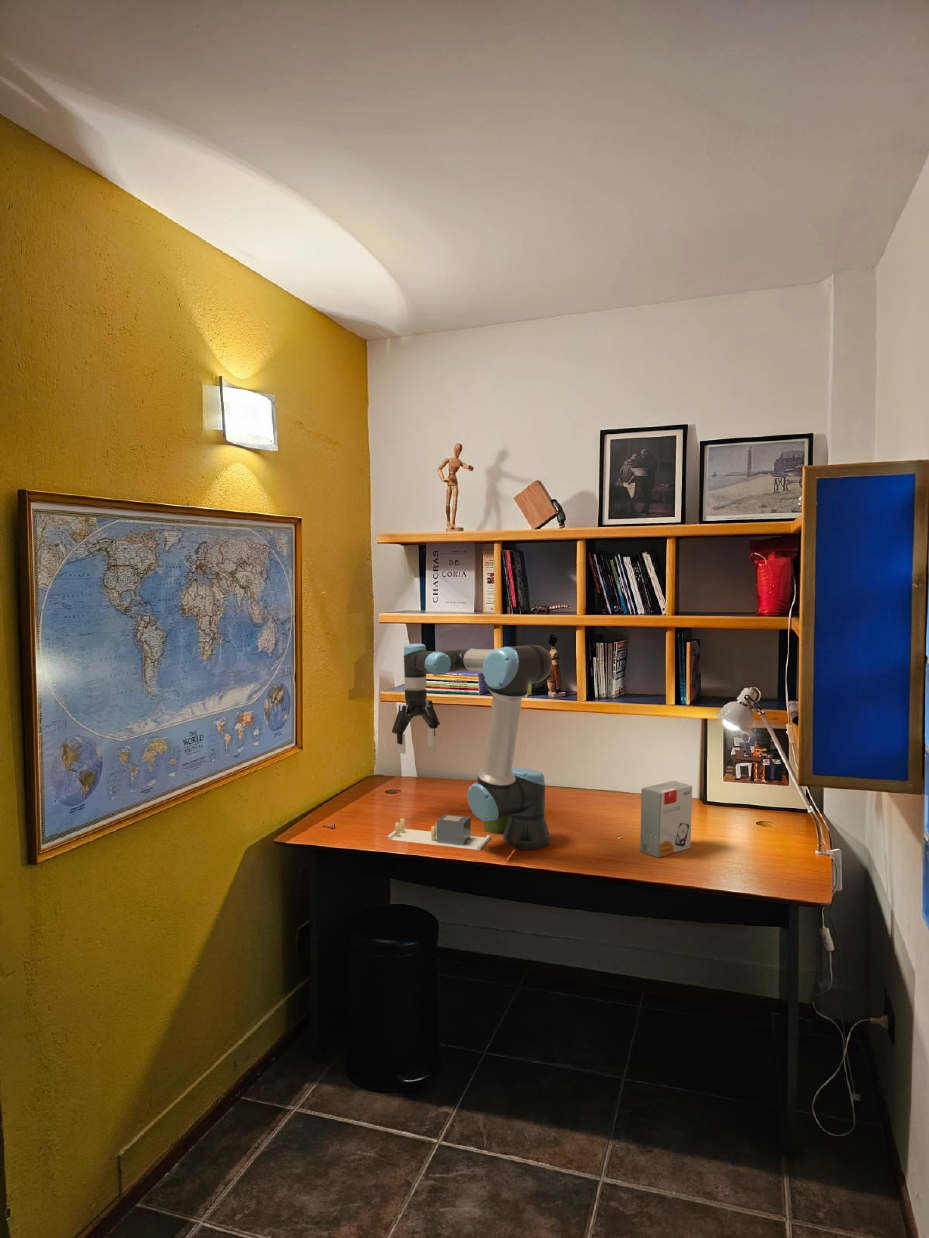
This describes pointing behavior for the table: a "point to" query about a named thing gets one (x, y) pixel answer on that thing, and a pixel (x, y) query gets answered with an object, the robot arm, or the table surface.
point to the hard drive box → (665, 818)
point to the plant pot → (495, 825)
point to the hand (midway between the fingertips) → (416, 749)
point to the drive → (453, 829)
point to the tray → (431, 837)
